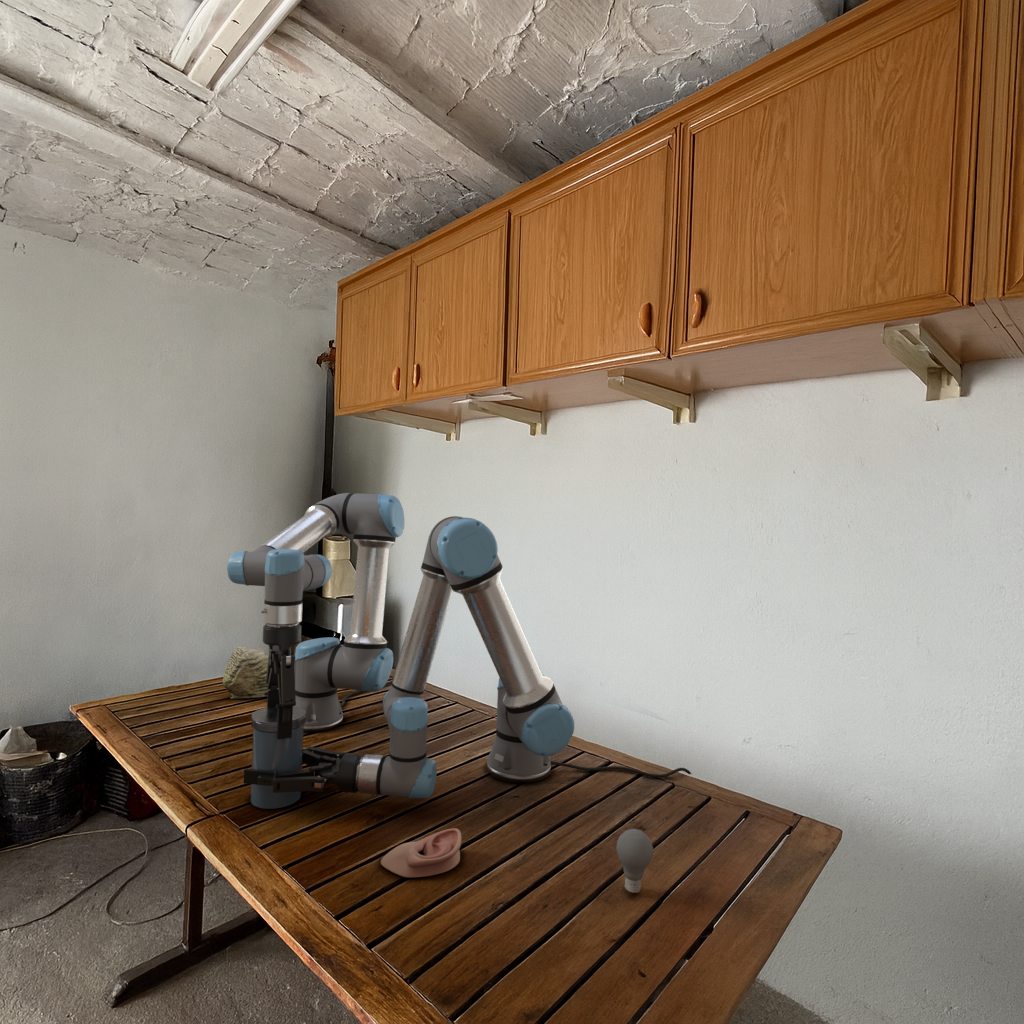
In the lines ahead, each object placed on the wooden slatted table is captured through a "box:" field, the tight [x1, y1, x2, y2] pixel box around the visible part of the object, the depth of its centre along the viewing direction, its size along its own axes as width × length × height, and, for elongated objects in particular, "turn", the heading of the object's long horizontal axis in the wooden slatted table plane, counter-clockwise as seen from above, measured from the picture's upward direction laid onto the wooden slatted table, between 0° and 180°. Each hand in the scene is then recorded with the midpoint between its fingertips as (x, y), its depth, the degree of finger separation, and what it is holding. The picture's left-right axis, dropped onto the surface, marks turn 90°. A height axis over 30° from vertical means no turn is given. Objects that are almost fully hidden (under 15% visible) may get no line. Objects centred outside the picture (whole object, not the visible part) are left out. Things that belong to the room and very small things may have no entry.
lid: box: [250, 706, 306, 732], centre depth 132 cm, size 11×11×2 cm
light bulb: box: [615, 828, 654, 894], centre depth 106 cm, size 6×6×10 cm
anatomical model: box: [380, 827, 462, 879], centre depth 112 cm, size 13×4×12 cm
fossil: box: [222, 646, 279, 699], centre depth 198 cm, size 9×18×15 cm, turn 132°
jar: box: [250, 725, 304, 810], centre depth 133 cm, size 10×10×17 cm
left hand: (278, 728), depth 132 cm, fingers closed on lid, 11 cm apart
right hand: (257, 765), depth 133 cm, fingers closed on jar, 10 cm apart
